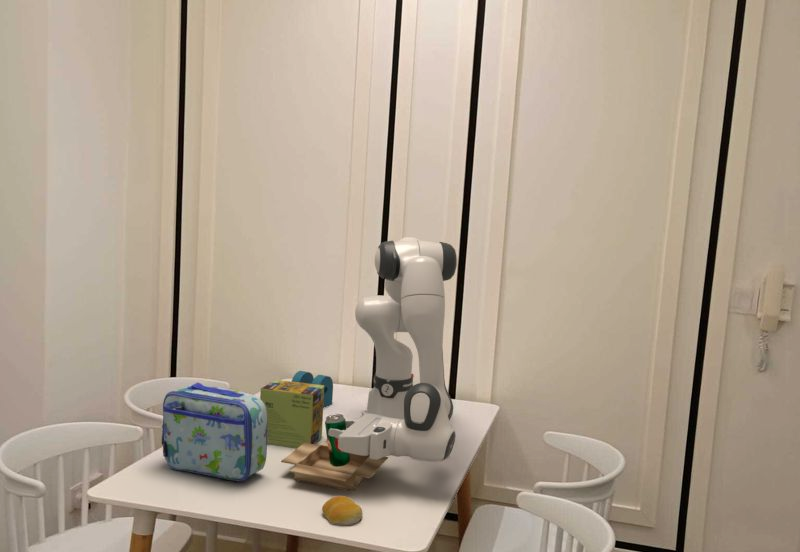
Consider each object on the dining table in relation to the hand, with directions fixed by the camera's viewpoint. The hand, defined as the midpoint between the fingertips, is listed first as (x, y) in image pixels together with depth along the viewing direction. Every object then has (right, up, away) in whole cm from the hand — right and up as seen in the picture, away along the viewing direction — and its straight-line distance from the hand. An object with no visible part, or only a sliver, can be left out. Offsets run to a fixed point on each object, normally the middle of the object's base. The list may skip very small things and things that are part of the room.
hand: (334, 427), depth 178 cm
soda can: (+1, -9, +1) cm, 9 cm away
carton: (0, -12, +1) cm, 12 cm away
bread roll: (+4, -15, -21) cm, 26 cm away
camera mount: (-15, -5, +53) cm, 55 cm away
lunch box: (-30, -11, -1) cm, 32 cm away
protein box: (-14, -9, +23) cm, 29 cm away
